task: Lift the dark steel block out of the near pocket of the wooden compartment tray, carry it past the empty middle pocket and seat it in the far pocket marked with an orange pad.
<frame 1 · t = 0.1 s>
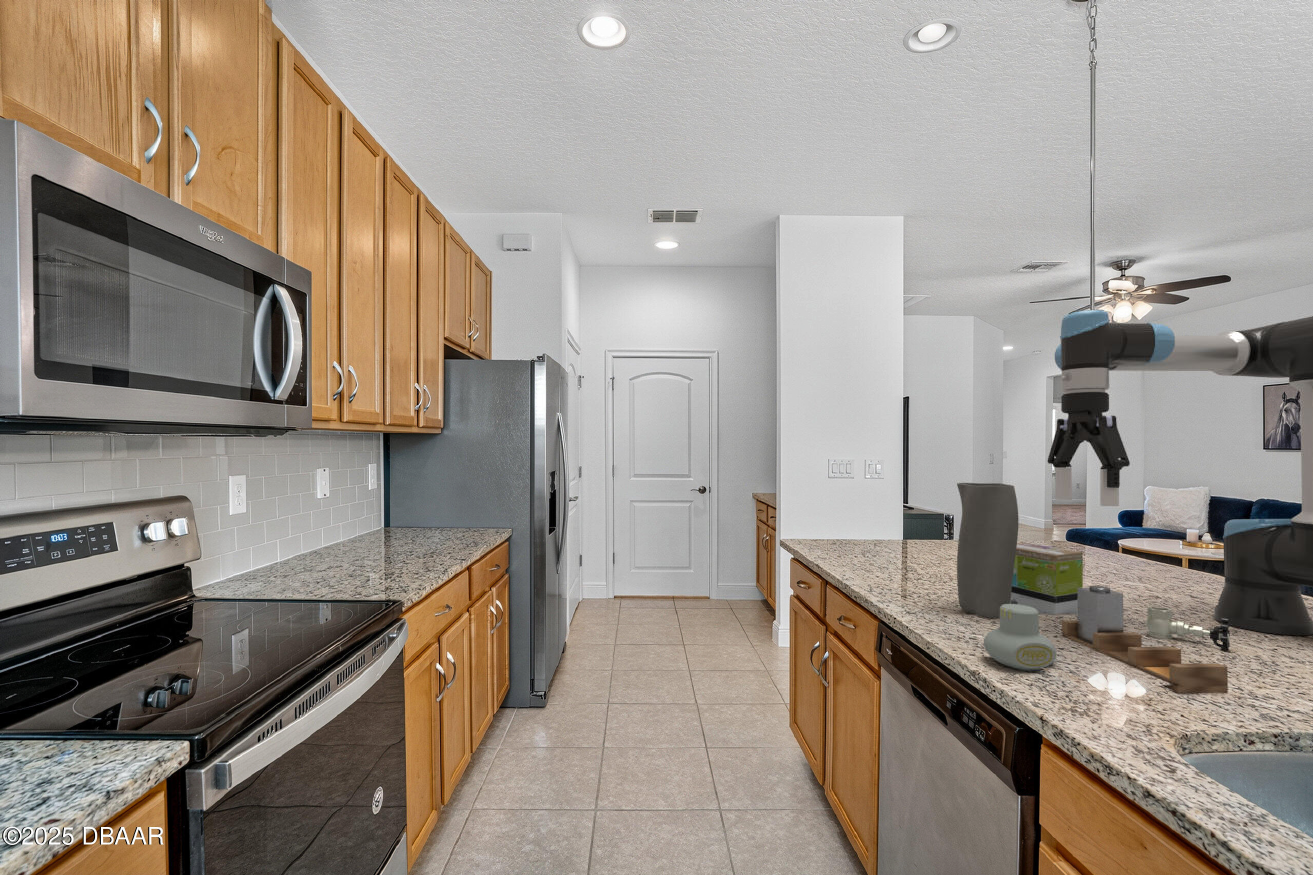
hand: (1085, 502, 116), 28 cm above the counter, tool pointing down, fingers open, 13 cm apart
valve: (1186, 647, 116), on the counter
vase: (986, 617, 136), on the counter
wooden compartment tray: (1135, 663, 106), on the counter
tea box: (1038, 610, 143), on the counter
air freshener: (1019, 666, 106), on the counter
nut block: (1100, 643, 114), point 1 cm above the counter, touching wooden compartment tray
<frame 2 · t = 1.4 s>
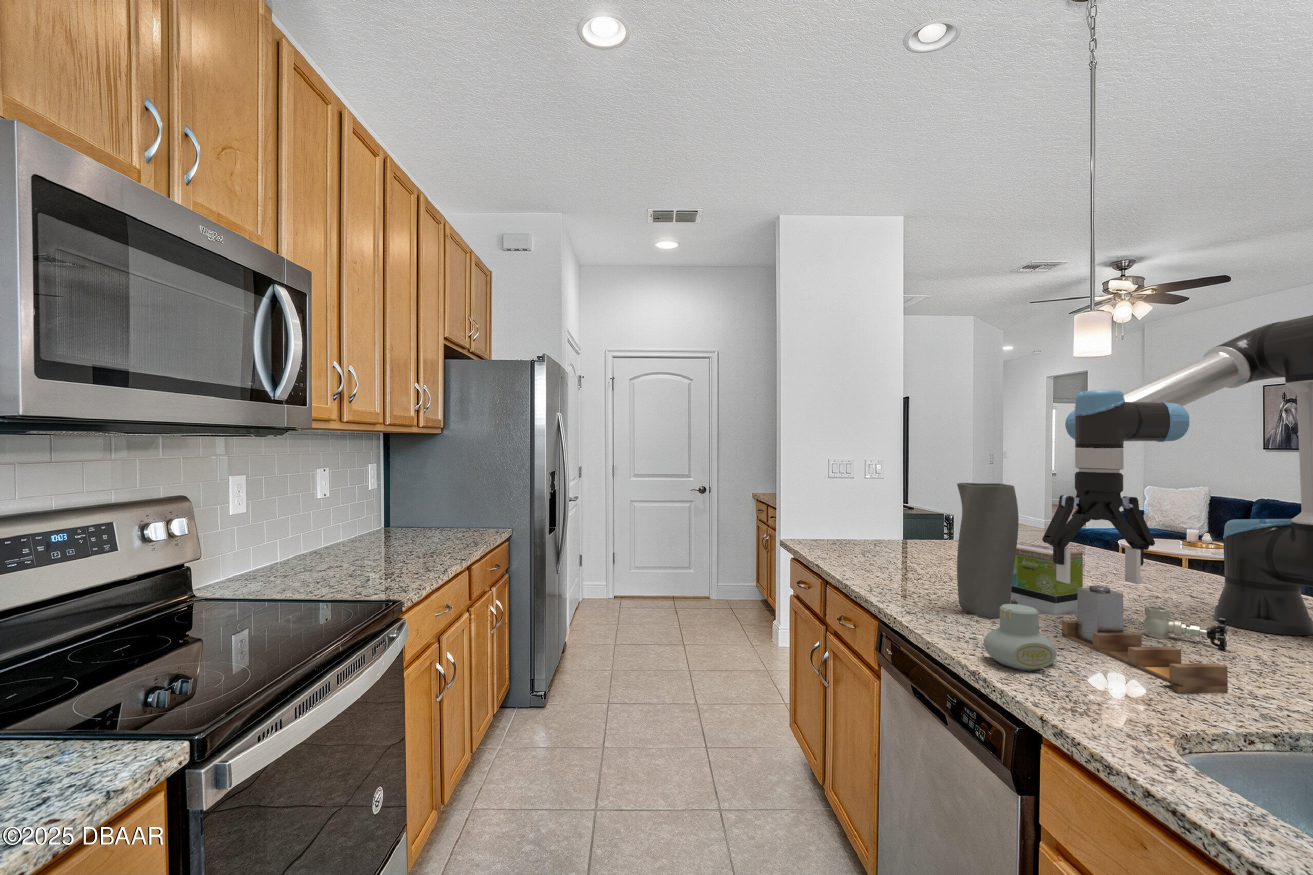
hand: (1098, 582, 115), 13 cm above the counter, tool pointing down, fingers open, 13 cm apart
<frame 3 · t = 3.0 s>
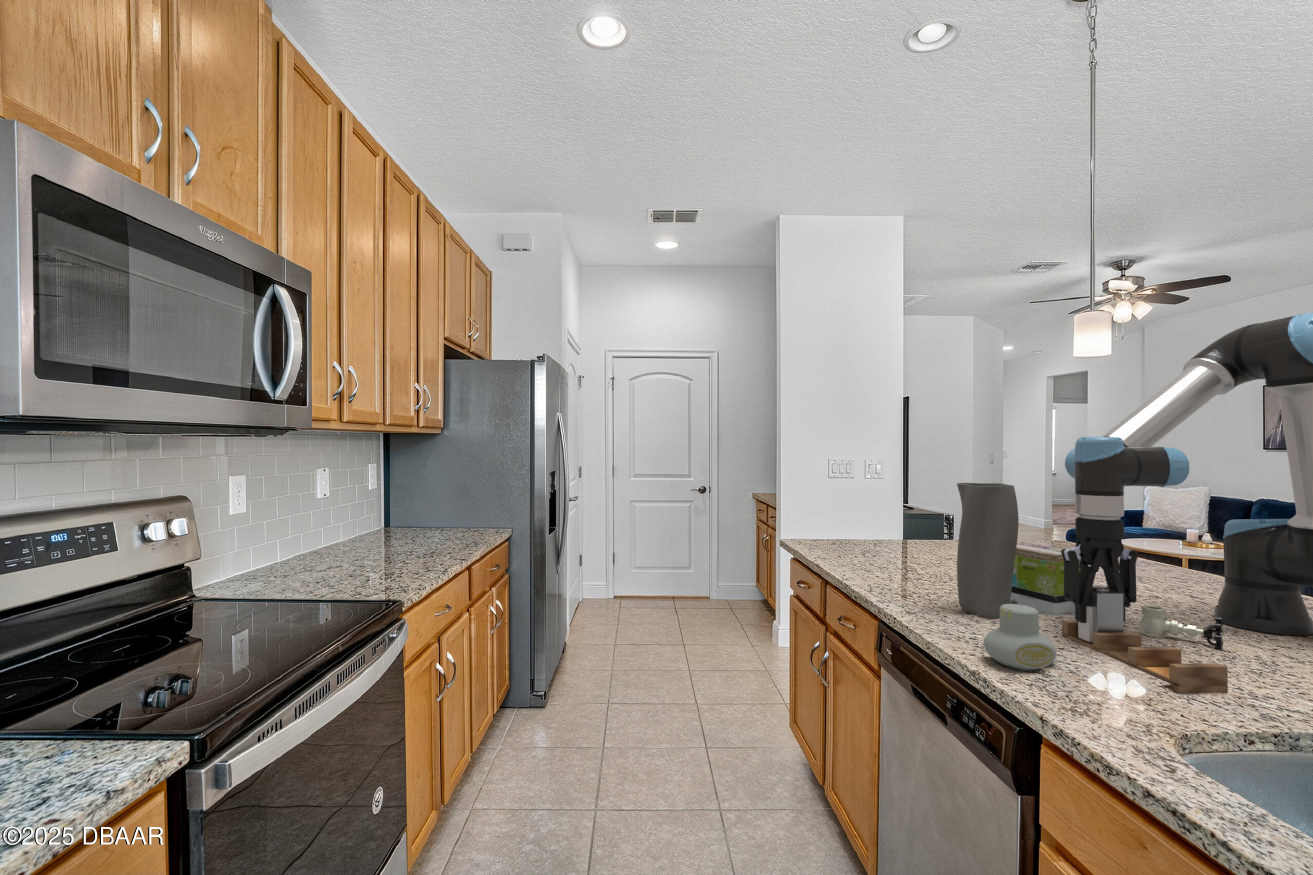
hand: (1100, 639, 114), 2 cm above the counter, tool pointing down, fingers closed on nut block, 5 cm apart
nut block: (1100, 643, 114), point 1 cm above the counter, touching gripper, wooden compartment tray
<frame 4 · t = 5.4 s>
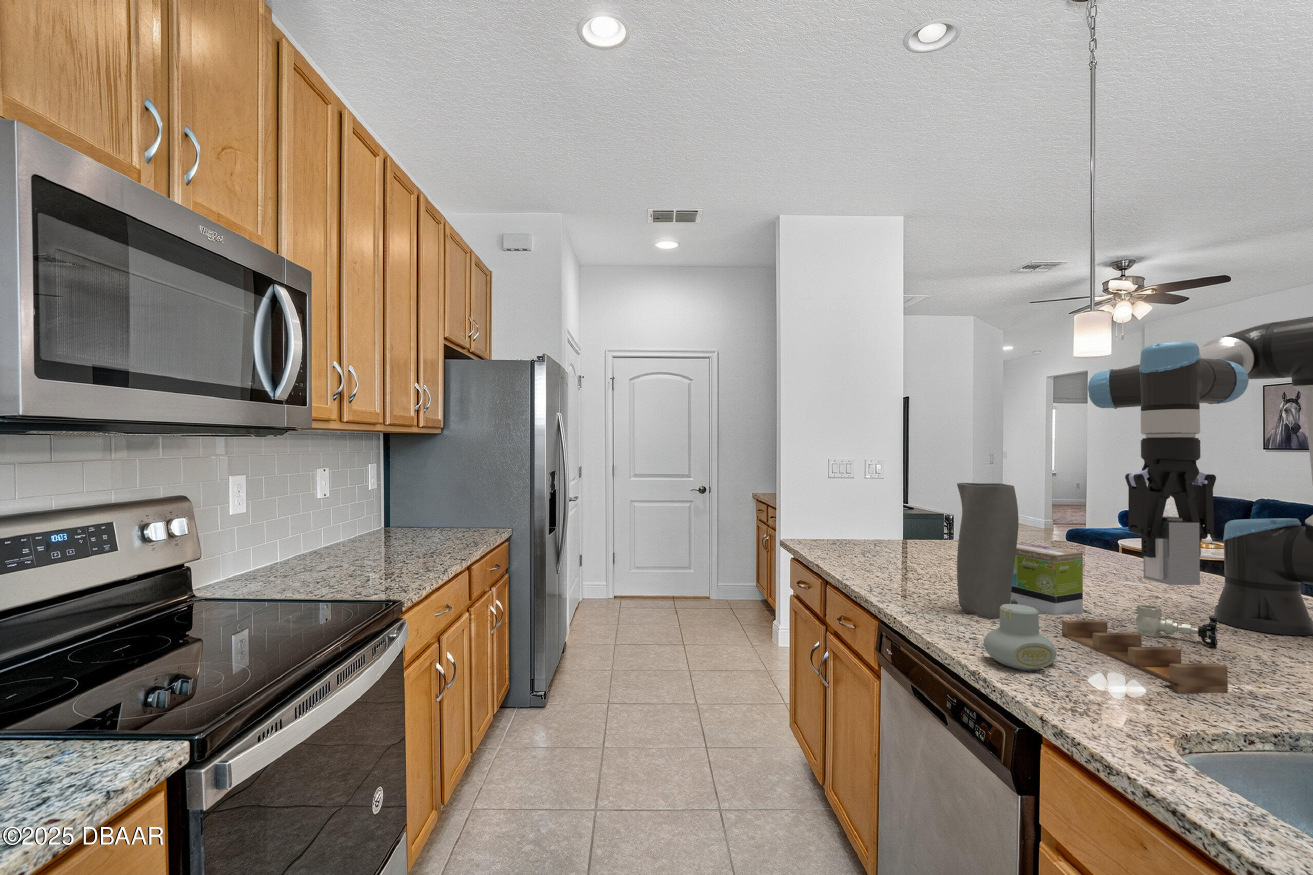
hand: (1171, 577, 99), 17 cm above the counter, tool pointing down, fingers closed on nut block, 5 cm apart
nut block: (1171, 581, 99), point 16 cm above the counter, touching gripper
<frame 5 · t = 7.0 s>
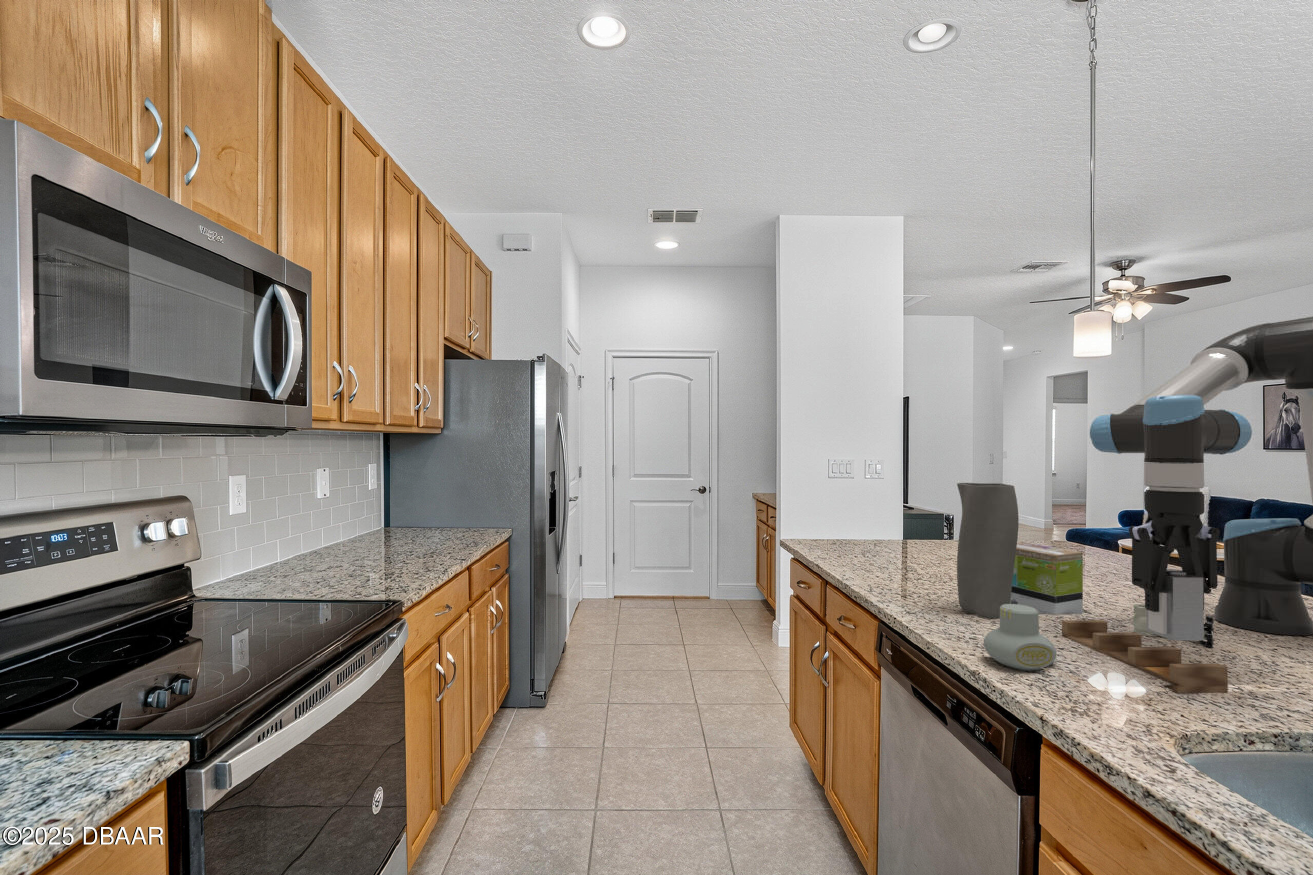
hand: (1174, 630, 99), 8 cm above the counter, tool pointing down, fingers closed on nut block, 5 cm apart
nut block: (1174, 635, 99), point 7 cm above the counter, touching gripper
when the fingers open (3 cm above the counter, at t = 8.2 s): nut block drops 1 cm, resting on wooden compartment tray.
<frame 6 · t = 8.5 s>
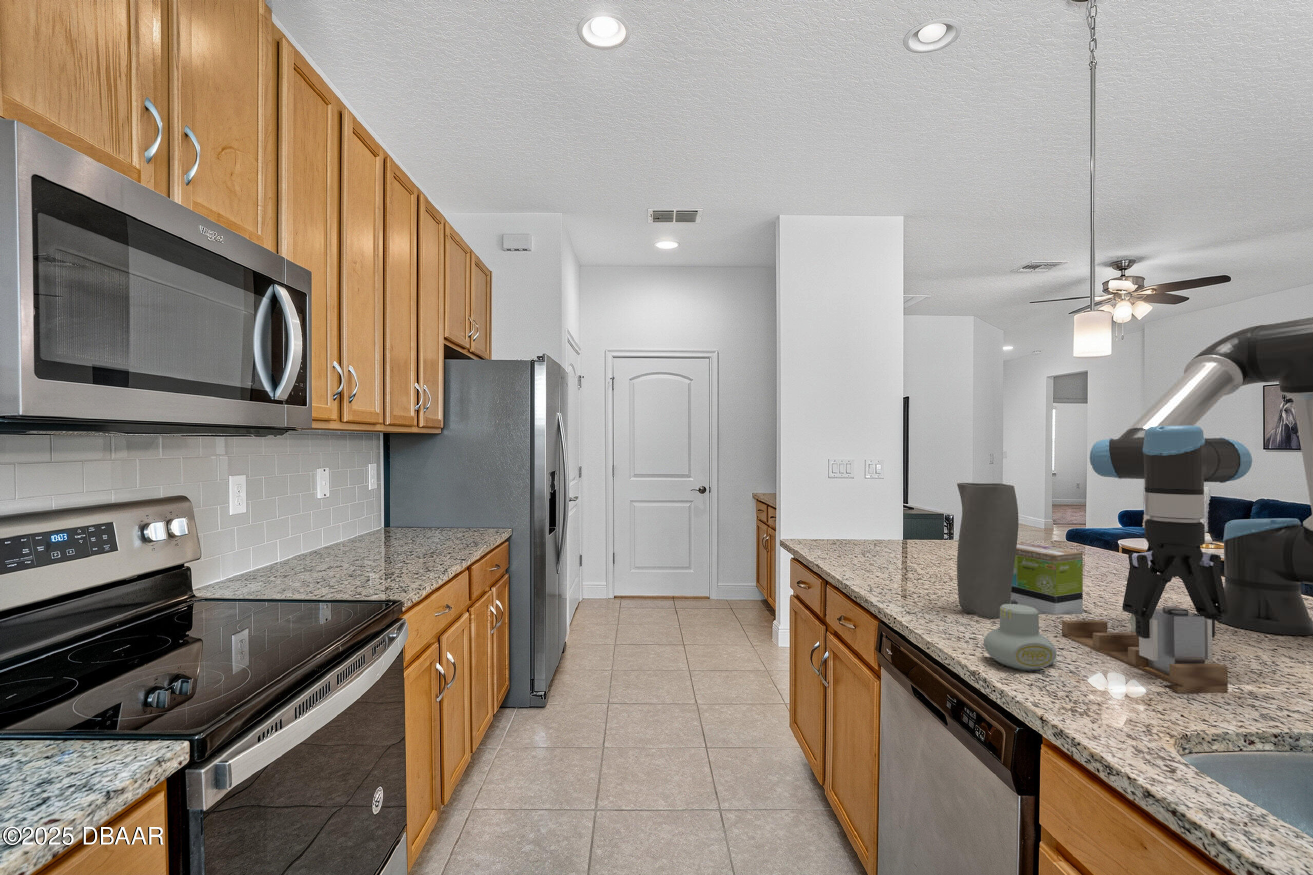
hand: (1175, 657, 99), 4 cm above the counter, tool pointing down, fingers open, 8 cm apart
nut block: (1175, 673, 99), point 1 cm above the counter, touching wooden compartment tray
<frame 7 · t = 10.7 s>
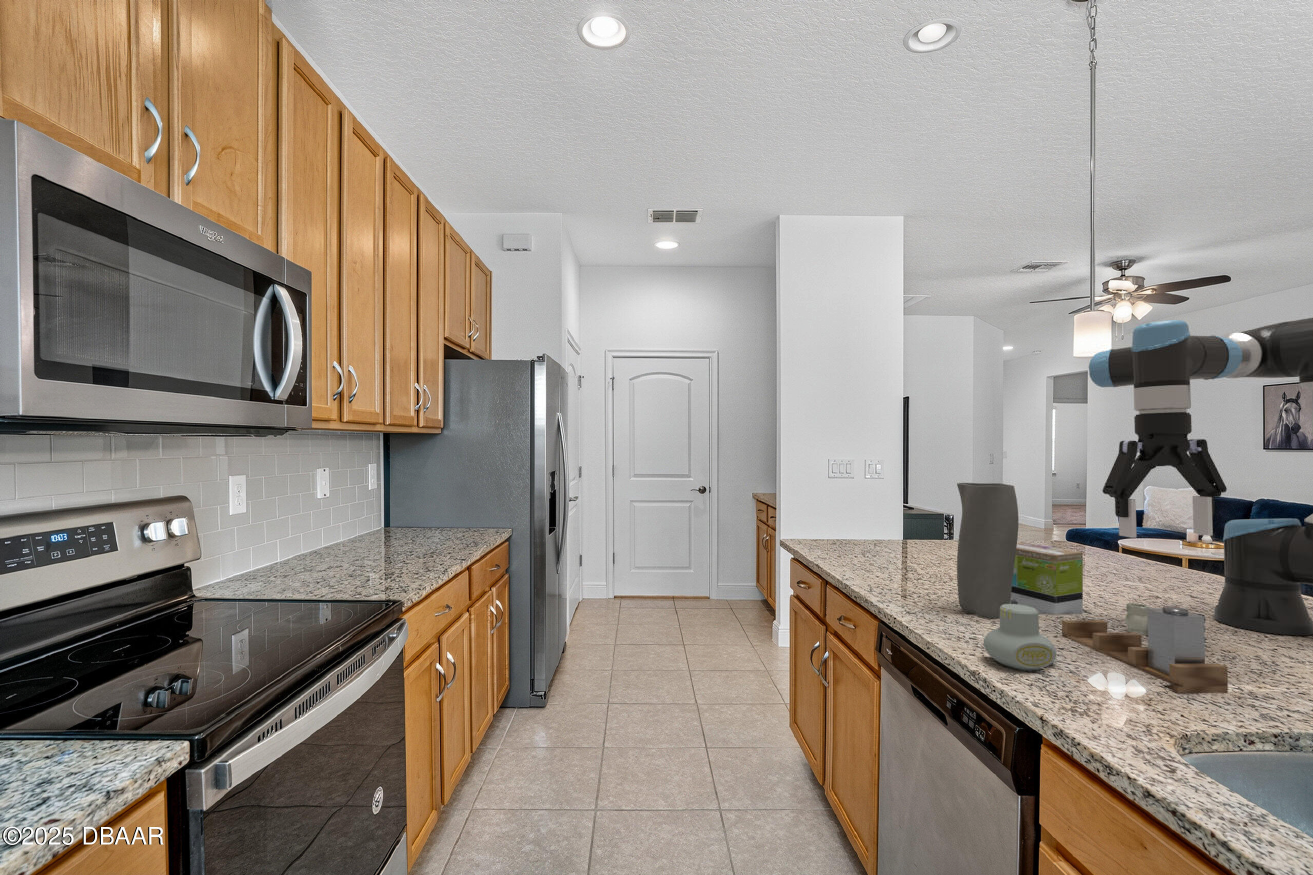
hand: (1165, 535, 103), 23 cm above the counter, tool pointing down, fingers open, 13 cm apart
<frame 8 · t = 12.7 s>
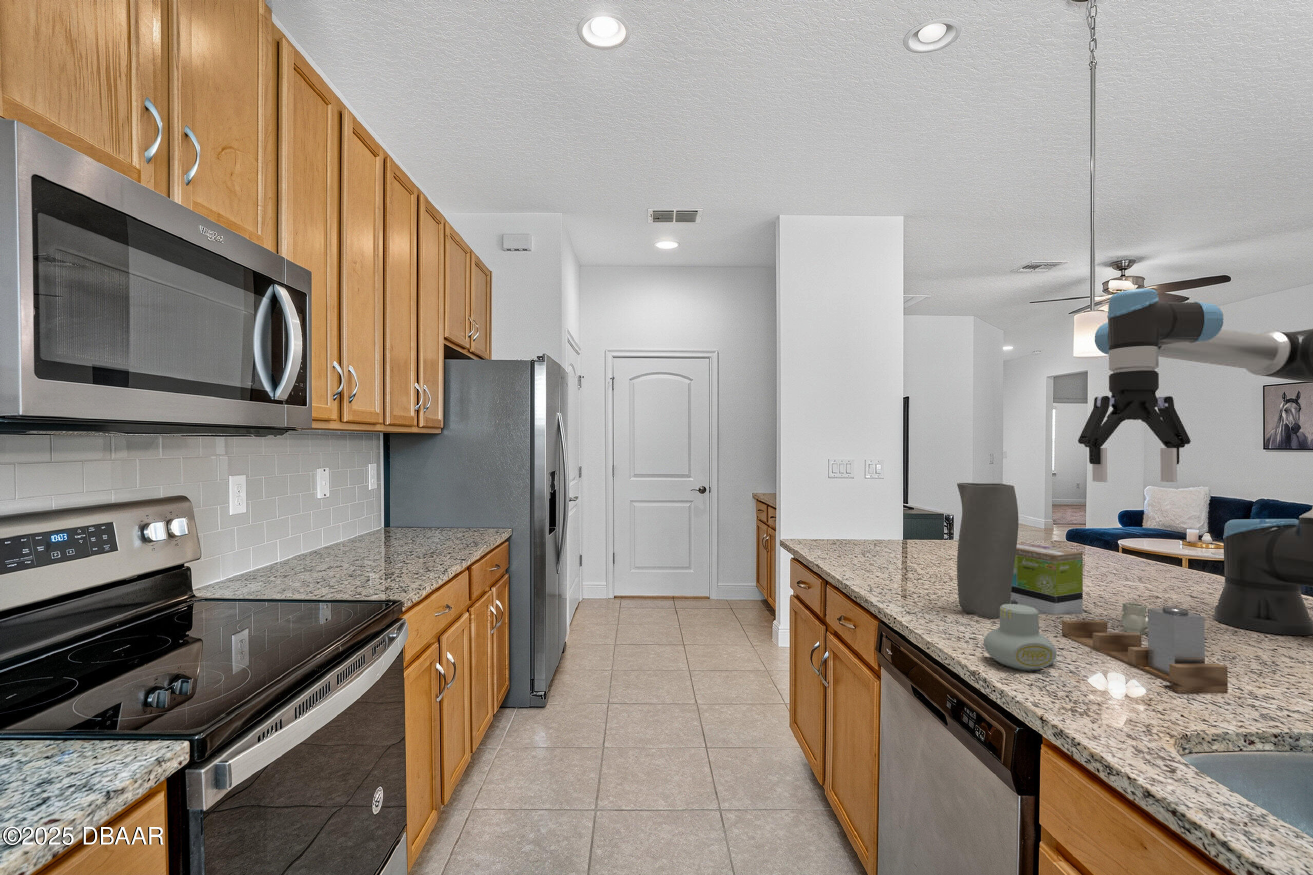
hand: (1134, 482, 115), 32 cm above the counter, tool pointing down, fingers open, 13 cm apart
at the end: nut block 0.1 cm from the target spot on the wooden compartment tray, point 1.2 cm above the wooden compartment tray's base; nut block tilted 0°; the gripper is holding nothing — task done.
